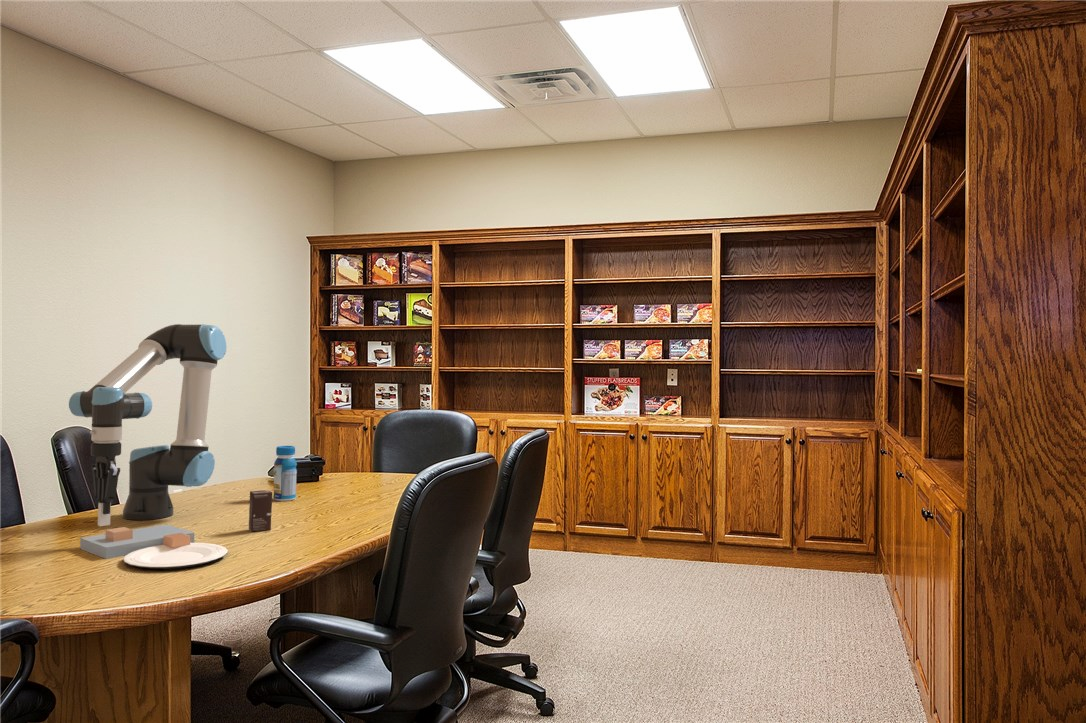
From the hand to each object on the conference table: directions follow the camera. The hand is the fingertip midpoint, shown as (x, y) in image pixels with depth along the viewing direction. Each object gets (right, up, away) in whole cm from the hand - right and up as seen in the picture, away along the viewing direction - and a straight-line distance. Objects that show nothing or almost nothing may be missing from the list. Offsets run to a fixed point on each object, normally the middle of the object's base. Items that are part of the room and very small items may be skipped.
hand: (104, 525), depth 218 cm
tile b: (+7, -3, -5) cm, 9 cm away
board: (+10, -6, -1) cm, 12 cm away
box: (+36, -7, +22) cm, 43 cm away
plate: (+27, -7, -14) cm, 31 cm away
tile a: (+23, -5, -4) cm, 23 cm away
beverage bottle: (+26, -6, +74) cm, 79 cm away
